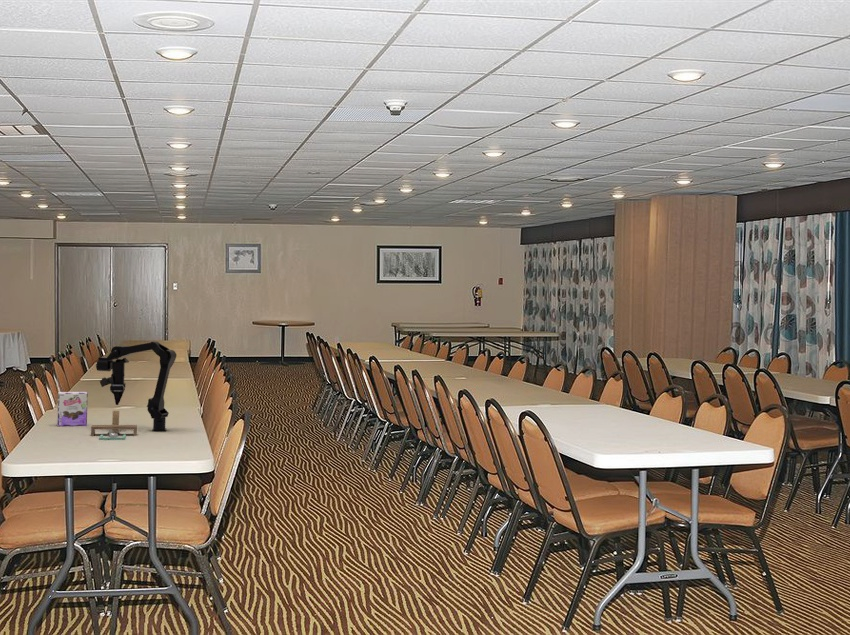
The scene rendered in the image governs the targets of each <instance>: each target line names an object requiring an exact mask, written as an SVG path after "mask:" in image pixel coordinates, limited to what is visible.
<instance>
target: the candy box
mask: <svg viewBox="0 0 850 635" xmlns="http://www.w3.org/2000/svg"><path fill="white" fill-rule="evenodd" d="M88 394H89V393H88V392H87V391H58V392H57V414H56V416H57V418H56V425H57V427H79V426H80V427H81V426H82V427H84V426H85V427H86V426H88V424H87V423H88Z"/></svg>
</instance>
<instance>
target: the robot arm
mask: <svg viewBox="0 0 850 635" xmlns="http://www.w3.org/2000/svg"><path fill="white" fill-rule="evenodd" d="M148 351H153V352H154V353H155V355H157V356H158V357H159V365H160V368H159V372H158V377H157V381H156V386H155V390H154V394H153V397H151V398H148V402H147V405H146V408H147V409H146V410H147V412H148V414H150V418H151V419H152V420H153V421H152V425H153V426H152V429H151V431H152V432H166V431H167V428H166V422H167V420H166V418H168V417H169V411H167V409H165V398H164V396H165V394H166V393H165V392H166V388H167V383H168V379H169V375H170V371H171V368H172V366H173V365H174V364H175V361H176V359H177V353H176V351H175V350H174V349H170V348H168V347H166V346H164V345H163V344H161V343H160V342H159V341H151V342H147V343H140V344H135V345H116V346H115V345H114V346H113V347H112V348H111V349H110V353H109V354H108V356H107V357H103V356H99V357H98V358H97V359H98V360H97V361H96V364H95V368H96V371H98V372H111V375H110V377H109V376H108V377H102V378H101V379H100V380H99V383H100V387H102V388H103V387H105V386H108V385H110V387H109V391H110V392H111V393H112V395H113V398H114V402H115V405H116V406H118V405H119V404H120V402H121V400H122V397H123V395H124V392H125V389H126V387H127V386H126V382H125V374H126V373H125V368H126V367H125V365H126V364H129V362H130V361H129V360H128V359H127V356H130V355H132V354H136V353H142V352H148Z"/></svg>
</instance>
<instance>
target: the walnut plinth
mask: <svg viewBox="0 0 850 635" xmlns="http://www.w3.org/2000/svg"><path fill="white" fill-rule="evenodd" d="M109 429H121V430H133V436H137V434H138V425H137V424H119V425H112V424H92V425H91V426H90V437H93V436H95V434H96V430H109Z"/></svg>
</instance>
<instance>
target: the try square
mask: <svg viewBox="0 0 850 635" xmlns="http://www.w3.org/2000/svg"><path fill="white" fill-rule="evenodd" d="M111 422H112V424H111V425H120V410H112V420H111ZM121 430H122V429H108V432H107V435H109V433H118V435H120V433H121Z"/></svg>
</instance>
